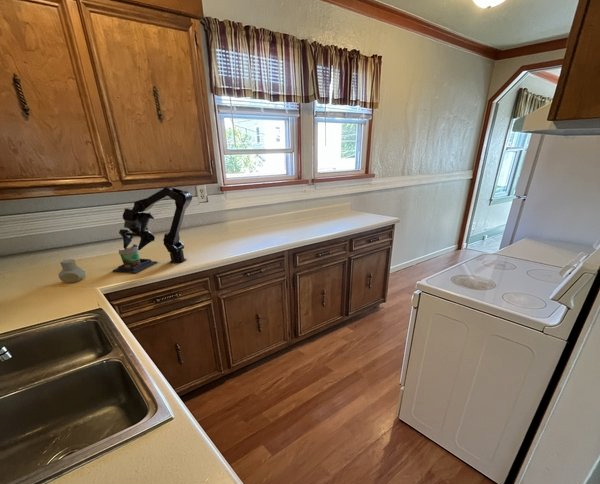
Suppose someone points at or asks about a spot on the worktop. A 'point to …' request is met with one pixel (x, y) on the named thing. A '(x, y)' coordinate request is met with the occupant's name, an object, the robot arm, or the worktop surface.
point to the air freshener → (71, 271)
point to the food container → (130, 256)
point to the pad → (144, 264)
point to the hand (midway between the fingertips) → (131, 249)
